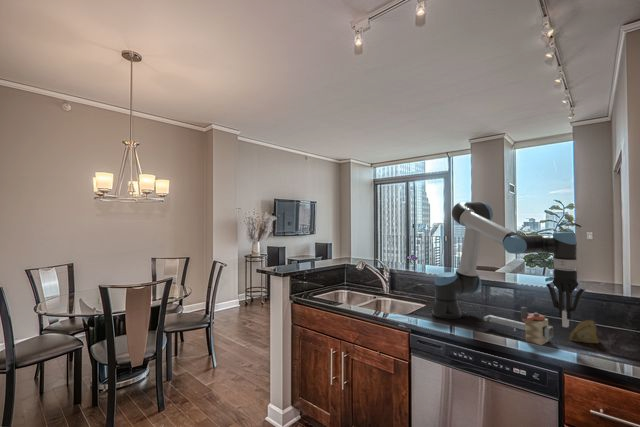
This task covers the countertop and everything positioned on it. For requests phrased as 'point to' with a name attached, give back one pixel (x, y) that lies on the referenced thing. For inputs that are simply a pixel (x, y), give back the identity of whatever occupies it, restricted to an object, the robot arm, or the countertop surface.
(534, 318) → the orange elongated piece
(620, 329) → the countertop surface
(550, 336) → the hook bar
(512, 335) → the countertop surface
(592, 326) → the rock
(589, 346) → the countertop surface
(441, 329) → the countertop surface
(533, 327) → the eye block
